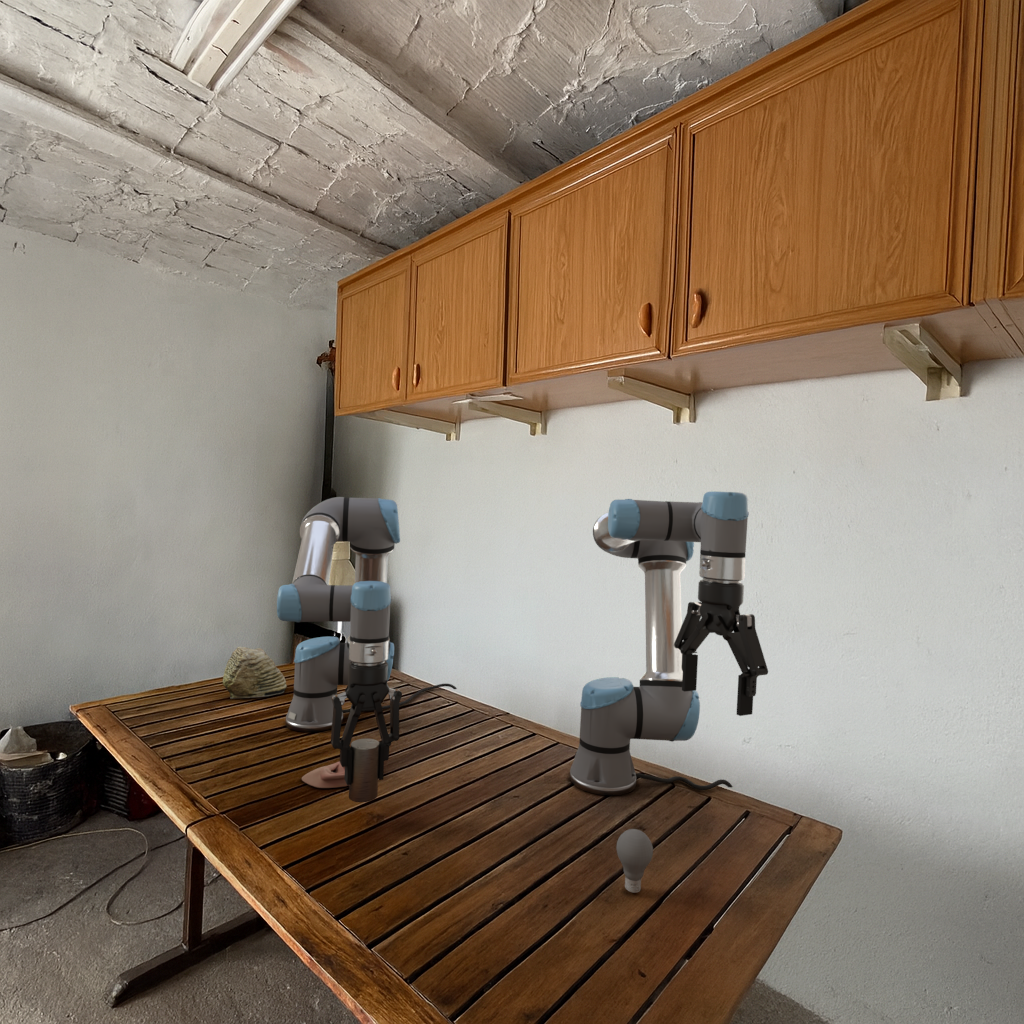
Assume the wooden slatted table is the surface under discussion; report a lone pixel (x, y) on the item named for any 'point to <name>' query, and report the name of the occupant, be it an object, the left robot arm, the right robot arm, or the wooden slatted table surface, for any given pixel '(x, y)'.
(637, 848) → the light bulb
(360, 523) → the left robot arm
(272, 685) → the fossil
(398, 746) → the wooden slatted table surface
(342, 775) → the anatomical model
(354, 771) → the can
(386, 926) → the wooden slatted table surface
